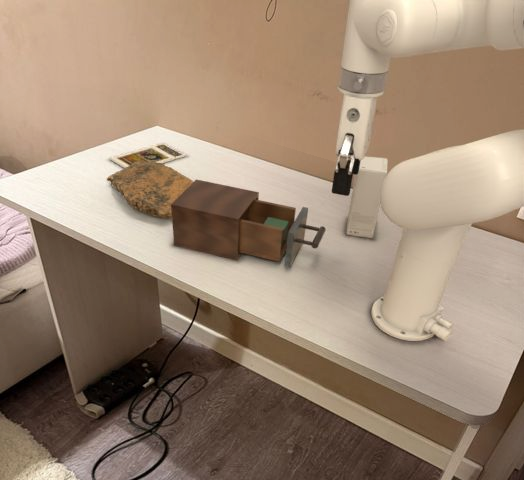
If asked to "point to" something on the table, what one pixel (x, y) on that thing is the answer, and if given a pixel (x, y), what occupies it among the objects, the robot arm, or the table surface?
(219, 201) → the cabinet
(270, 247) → the drawer
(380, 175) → the white tower device
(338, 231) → the table surface
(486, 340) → the table surface
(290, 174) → the table surface
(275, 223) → the block
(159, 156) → the trading card
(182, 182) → the rock
